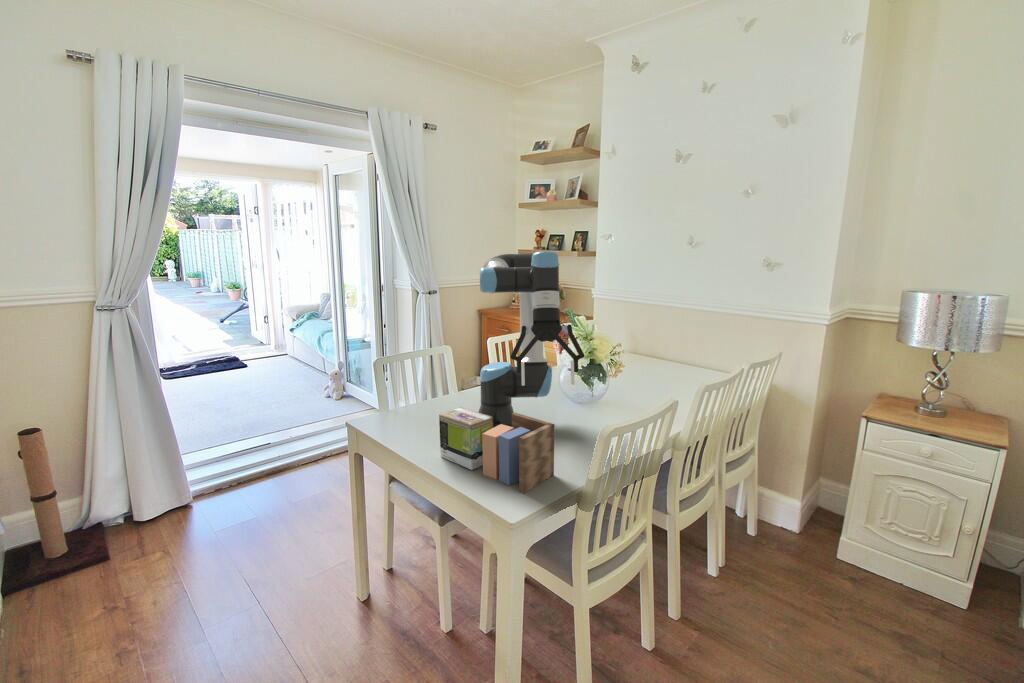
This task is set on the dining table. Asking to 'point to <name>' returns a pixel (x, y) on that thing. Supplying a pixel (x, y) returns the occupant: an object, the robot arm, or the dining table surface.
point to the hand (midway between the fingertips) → (547, 385)
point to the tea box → (463, 436)
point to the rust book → (492, 450)
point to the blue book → (510, 455)
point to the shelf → (534, 451)
